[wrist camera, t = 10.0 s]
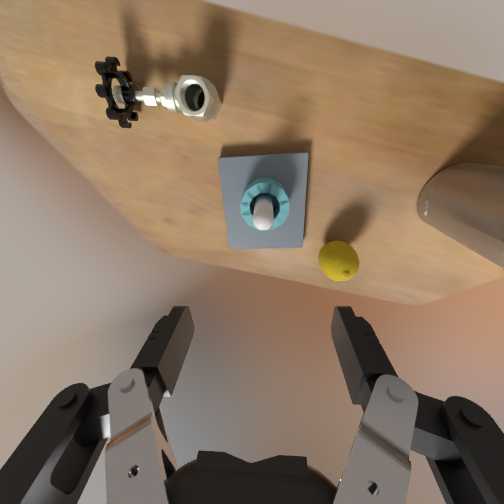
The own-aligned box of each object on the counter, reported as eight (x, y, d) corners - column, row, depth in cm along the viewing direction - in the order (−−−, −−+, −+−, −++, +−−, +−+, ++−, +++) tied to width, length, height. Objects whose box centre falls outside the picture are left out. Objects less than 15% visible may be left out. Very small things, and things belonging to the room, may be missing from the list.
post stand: (306, 151, 29) (324, 162, 20) (301, 243, 36) (312, 281, 27) (219, 156, 30) (199, 169, 21) (230, 244, 37) (219, 282, 28)
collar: (287, 176, 29) (290, 181, 26) (286, 220, 33) (288, 229, 30) (241, 178, 30) (238, 184, 27) (244, 221, 33) (242, 231, 30)
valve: (223, 70, 26) (124, 64, 26) (211, 53, 20) (84, 46, 20) (224, 133, 29) (136, 127, 29) (213, 135, 23) (104, 127, 23)
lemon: (310, 238, 36) (321, 264, 29) (345, 228, 34) (365, 253, 27) (318, 264, 38) (329, 295, 31) (350, 256, 37) (369, 285, 30)
